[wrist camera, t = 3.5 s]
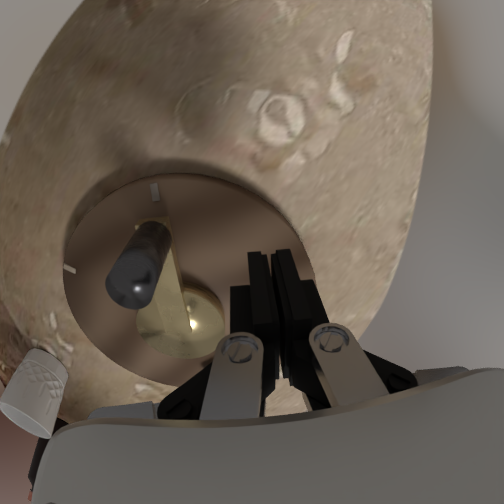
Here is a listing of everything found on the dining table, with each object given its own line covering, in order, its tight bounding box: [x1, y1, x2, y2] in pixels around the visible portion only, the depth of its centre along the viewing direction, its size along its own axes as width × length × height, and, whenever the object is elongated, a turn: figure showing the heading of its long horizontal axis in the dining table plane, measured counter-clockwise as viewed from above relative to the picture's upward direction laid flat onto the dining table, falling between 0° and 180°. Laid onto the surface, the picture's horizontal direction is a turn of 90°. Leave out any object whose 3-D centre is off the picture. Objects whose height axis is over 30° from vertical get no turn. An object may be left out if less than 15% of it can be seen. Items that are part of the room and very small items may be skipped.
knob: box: [105, 216, 225, 359], centre depth 18 cm, size 13×7×7 cm, turn 3°
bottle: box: [28, 418, 68, 501], centre depth 30 cm, size 7×7×20 cm
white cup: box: [0, 348, 68, 439], centre depth 25 cm, size 8×8×10 cm
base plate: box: [63, 173, 317, 387], centre depth 23 cm, size 22×22×4 cm
